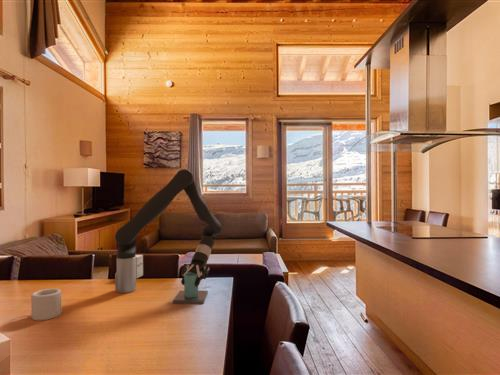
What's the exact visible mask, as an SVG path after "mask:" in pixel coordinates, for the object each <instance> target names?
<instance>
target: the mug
mask: <svg viewBox="0 0 500 375" xmlns="http://www.w3.org/2000/svg"><path fill="white" fill-rule="evenodd" d="M30 299H31V300H30V301H31V303H30V304H31V305H30V307H31V319H32V320H34V321H46V320H51V319H54V318H57V317H58V316H59V317H60V315H61V314H62V311H63V310H62V290H61V289H60V288H45V289H40V290H37V291H34V292H32V294H31V295H30Z"/></svg>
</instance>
